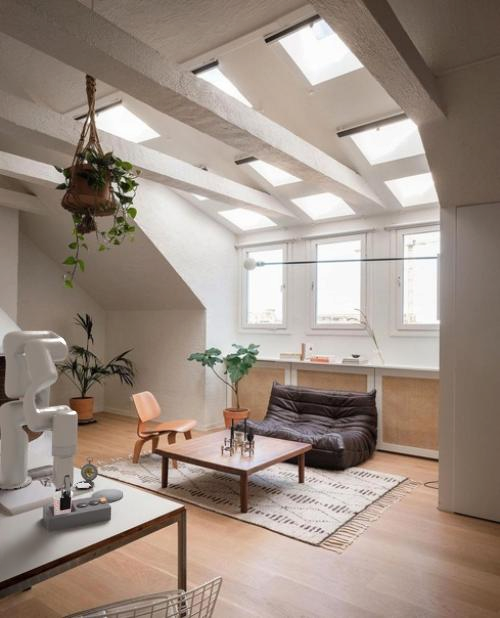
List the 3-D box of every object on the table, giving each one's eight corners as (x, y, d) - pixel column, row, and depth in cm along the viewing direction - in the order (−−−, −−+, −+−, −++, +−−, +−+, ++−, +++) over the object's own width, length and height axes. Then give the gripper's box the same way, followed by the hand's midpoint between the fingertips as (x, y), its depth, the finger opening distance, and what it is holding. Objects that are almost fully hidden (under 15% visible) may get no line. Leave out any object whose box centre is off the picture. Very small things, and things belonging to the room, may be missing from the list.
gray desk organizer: (42, 517, 156) (43, 503, 156) (101, 506, 166) (102, 492, 166) (48, 532, 146) (49, 516, 146) (110, 519, 157) (111, 504, 156)
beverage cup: (47, 523, 152) (48, 479, 152) (61, 515, 158) (62, 473, 158) (63, 527, 150) (64, 482, 150) (76, 519, 156) (77, 476, 155)
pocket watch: (77, 491, 178) (77, 464, 178) (74, 483, 186) (74, 457, 186) (99, 487, 182) (100, 461, 182) (95, 480, 190) (96, 455, 190)
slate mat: (88, 493, 176) (88, 492, 176) (118, 488, 182) (118, 487, 182) (95, 505, 167) (95, 503, 167) (127, 499, 173) (127, 497, 173)
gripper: (47, 443, 159) (45, 497, 159) (57, 459, 144) (55, 518, 144) (70, 441, 163) (69, 493, 163) (82, 455, 148) (81, 513, 148)
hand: (62, 504), depth 154 cm, fingers open, 6 cm apart
